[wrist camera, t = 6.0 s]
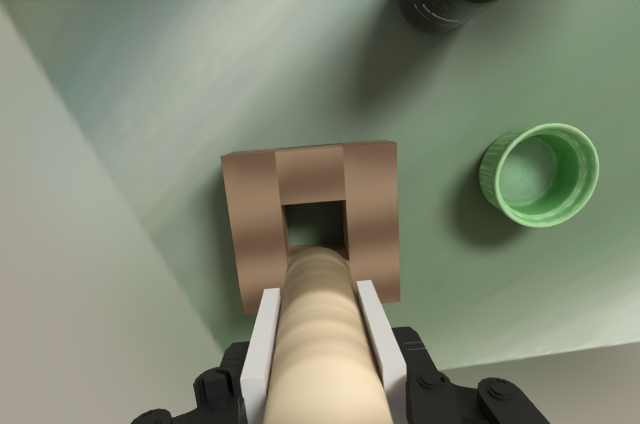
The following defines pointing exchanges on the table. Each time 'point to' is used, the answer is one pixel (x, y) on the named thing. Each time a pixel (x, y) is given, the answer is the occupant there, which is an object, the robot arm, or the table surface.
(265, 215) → the socket block
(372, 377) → the peg
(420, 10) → the supplement bottle
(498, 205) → the ramekin
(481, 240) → the table surface
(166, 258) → the table surface
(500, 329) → the table surface
